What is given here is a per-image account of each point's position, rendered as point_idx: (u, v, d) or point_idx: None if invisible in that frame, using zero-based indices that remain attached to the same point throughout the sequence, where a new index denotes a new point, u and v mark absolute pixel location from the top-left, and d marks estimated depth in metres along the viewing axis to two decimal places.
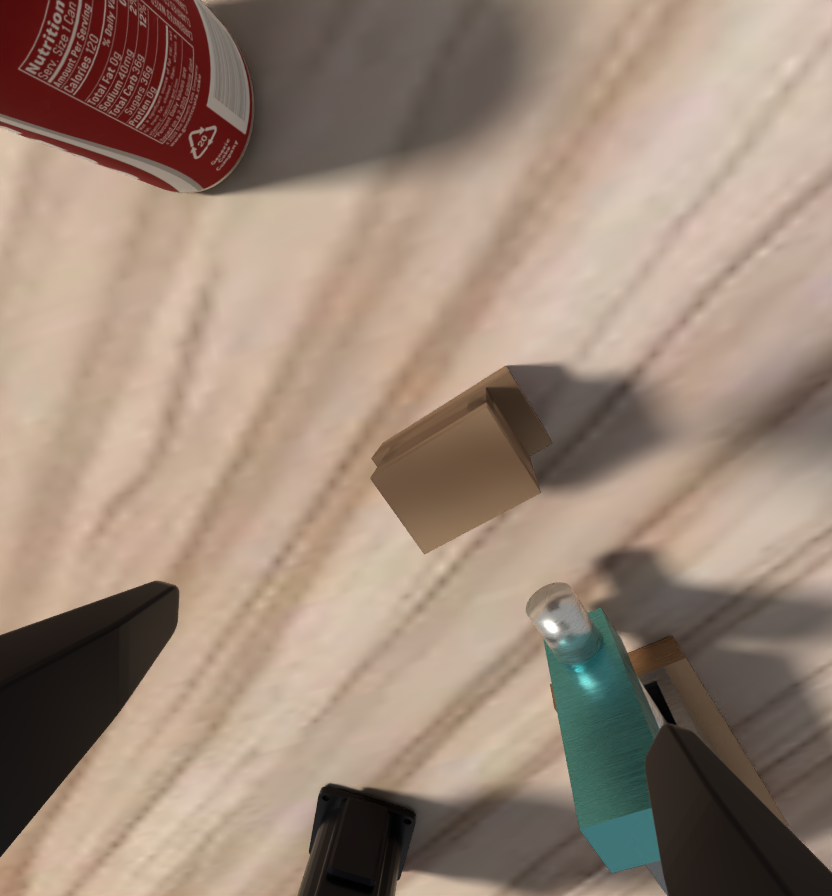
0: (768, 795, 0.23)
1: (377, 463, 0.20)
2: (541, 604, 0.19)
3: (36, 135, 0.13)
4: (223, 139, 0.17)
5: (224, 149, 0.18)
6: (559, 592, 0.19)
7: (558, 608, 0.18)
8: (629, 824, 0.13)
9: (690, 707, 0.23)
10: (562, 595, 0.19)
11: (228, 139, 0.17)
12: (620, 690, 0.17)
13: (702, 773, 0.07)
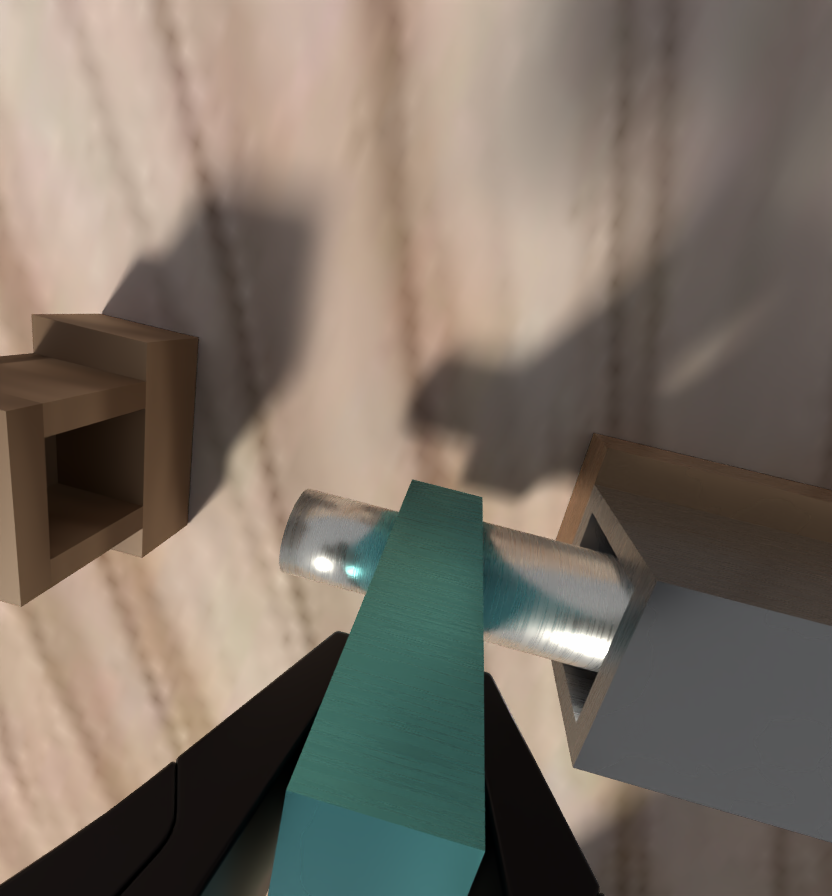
0: None
1: None
2: None
3: None
4: None
5: None
6: None
7: (288, 532, 0.11)
8: None
9: (695, 507, 0.13)
10: None
11: None
12: None
13: None
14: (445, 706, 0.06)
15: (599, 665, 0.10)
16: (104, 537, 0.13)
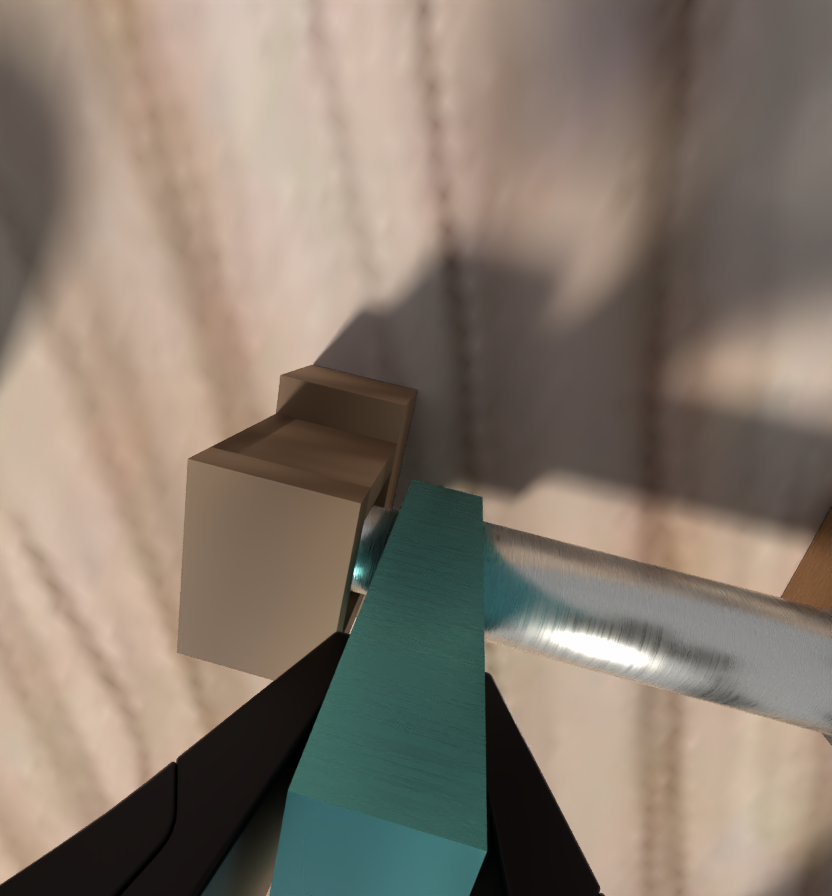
0: None
1: None
2: None
3: None
4: None
5: None
6: None
7: None
8: None
9: None
10: None
11: None
12: None
13: None
14: (445, 706, 0.06)
15: (599, 664, 0.10)
16: (356, 607, 0.12)
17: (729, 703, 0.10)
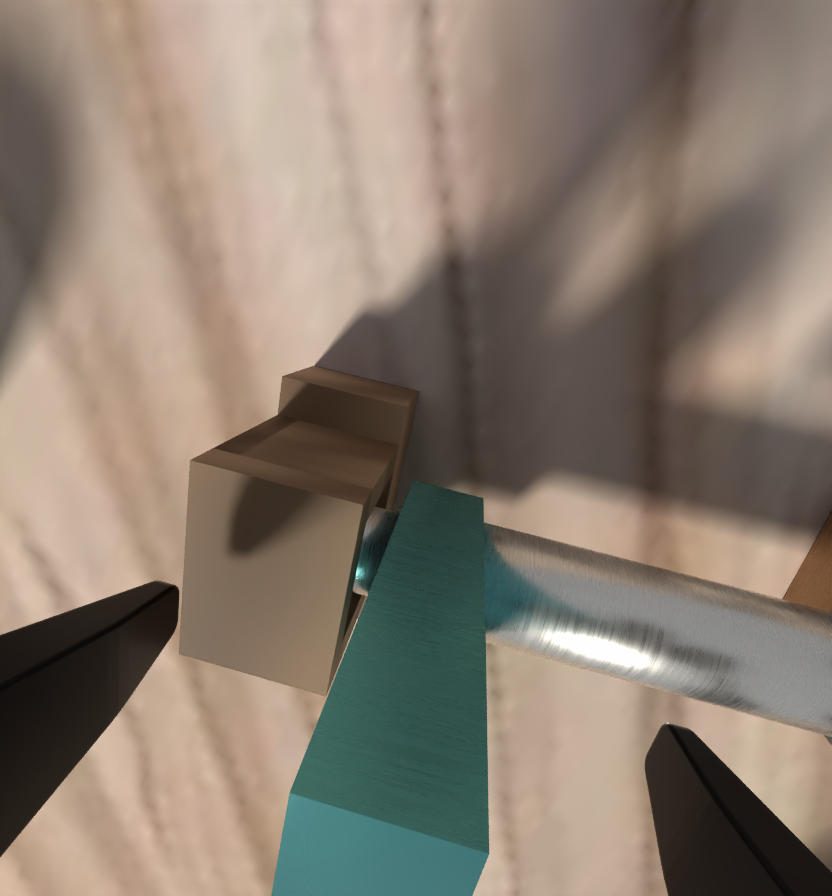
0: None
1: None
2: None
3: None
4: None
5: None
6: None
7: None
8: None
9: None
10: None
11: None
12: None
13: (702, 773, 0.07)
14: (446, 708, 0.06)
15: (600, 666, 0.10)
16: (358, 608, 0.12)
17: (730, 705, 0.10)
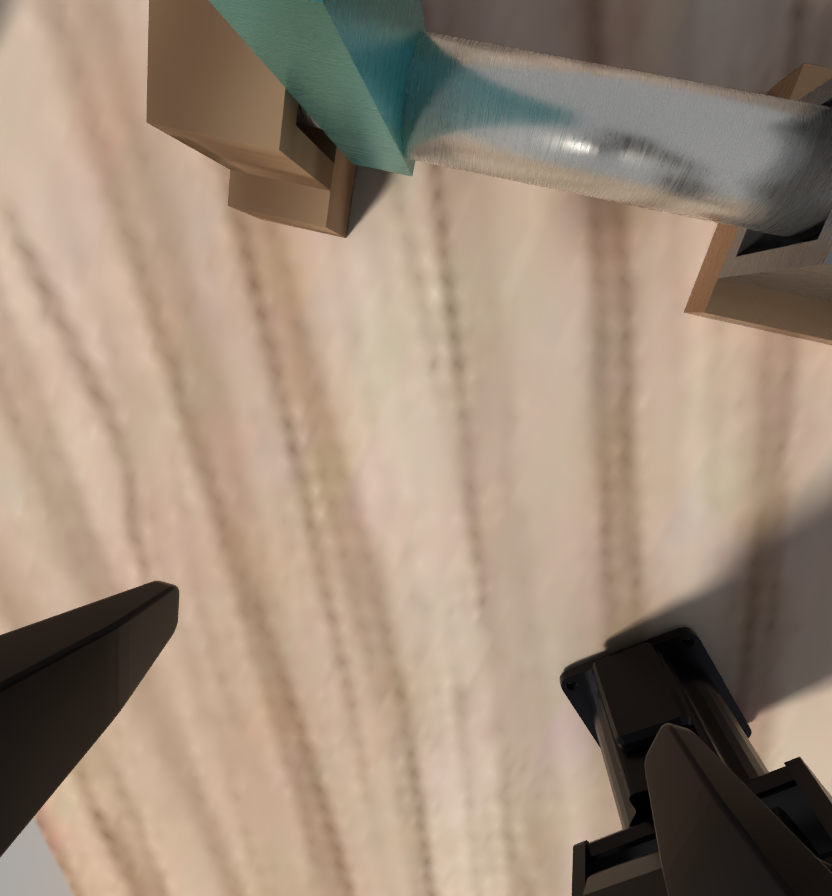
0: None
1: (237, 204, 0.15)
2: None
3: None
4: None
5: None
6: None
7: None
8: None
9: None
10: None
11: None
12: None
13: (702, 773, 0.07)
14: None
15: (529, 128, 0.11)
16: (316, 158, 0.13)
17: (646, 161, 0.11)
